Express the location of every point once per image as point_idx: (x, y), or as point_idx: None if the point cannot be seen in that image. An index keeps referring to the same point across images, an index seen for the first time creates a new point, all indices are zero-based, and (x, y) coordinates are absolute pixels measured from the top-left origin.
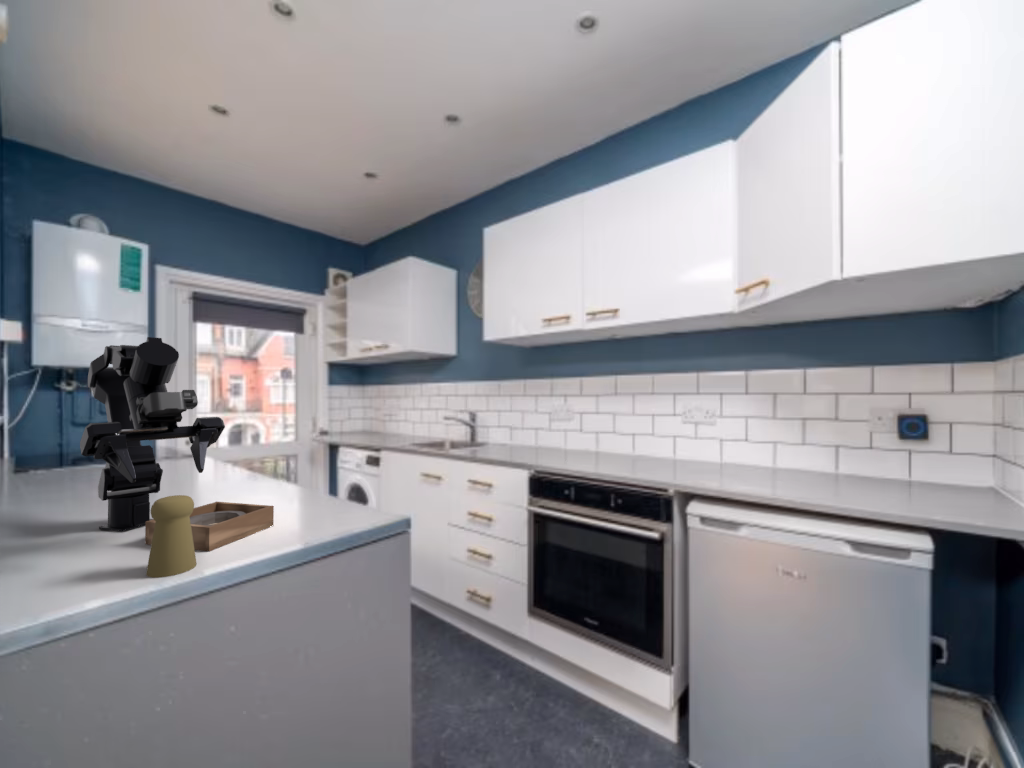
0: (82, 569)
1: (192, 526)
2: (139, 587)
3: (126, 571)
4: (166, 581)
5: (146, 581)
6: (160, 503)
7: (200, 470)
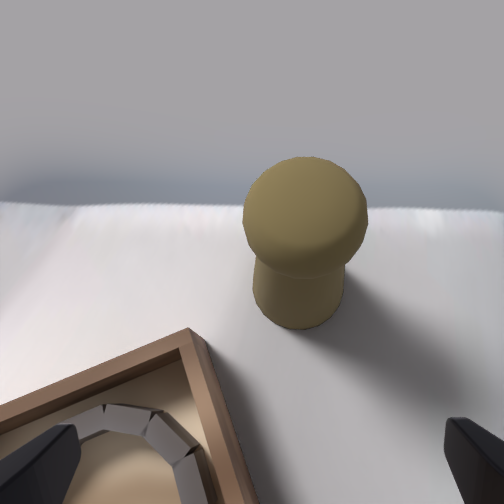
0: None
1: (209, 394)
2: None
3: (371, 354)
4: None
5: None
6: (350, 176)
7: (74, 435)
